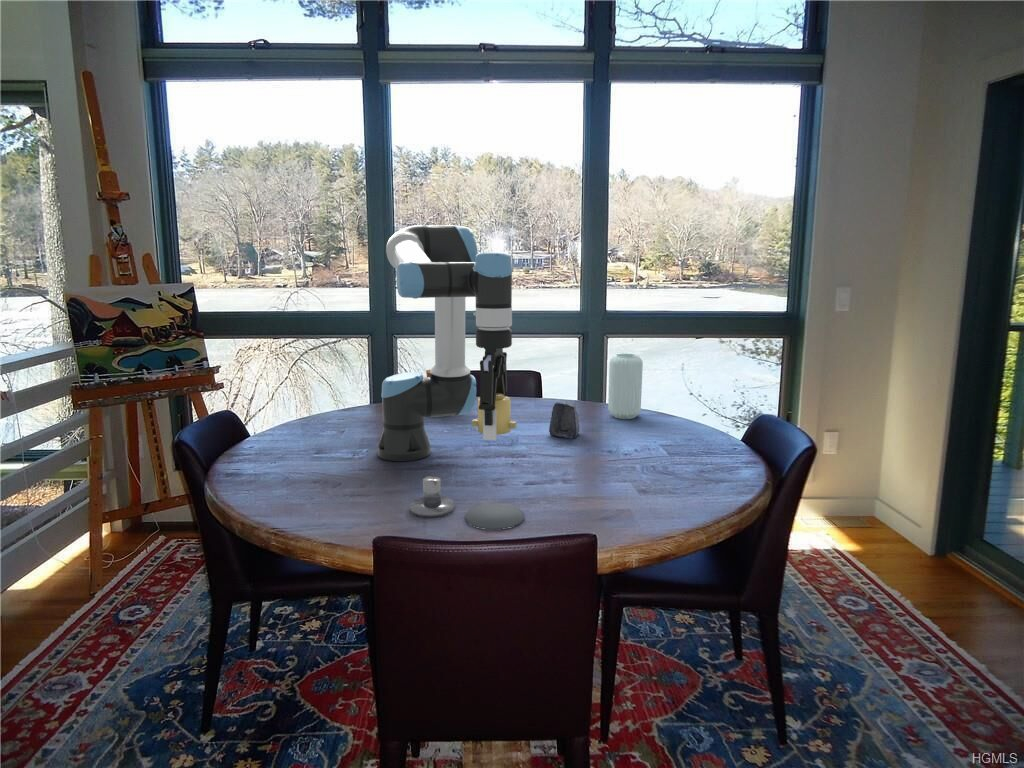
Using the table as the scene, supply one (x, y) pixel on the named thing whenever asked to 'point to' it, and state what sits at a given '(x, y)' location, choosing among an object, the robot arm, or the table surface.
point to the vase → (625, 386)
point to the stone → (564, 420)
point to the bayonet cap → (498, 415)
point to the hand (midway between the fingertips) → (494, 434)
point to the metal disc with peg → (432, 500)
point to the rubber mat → (494, 516)
